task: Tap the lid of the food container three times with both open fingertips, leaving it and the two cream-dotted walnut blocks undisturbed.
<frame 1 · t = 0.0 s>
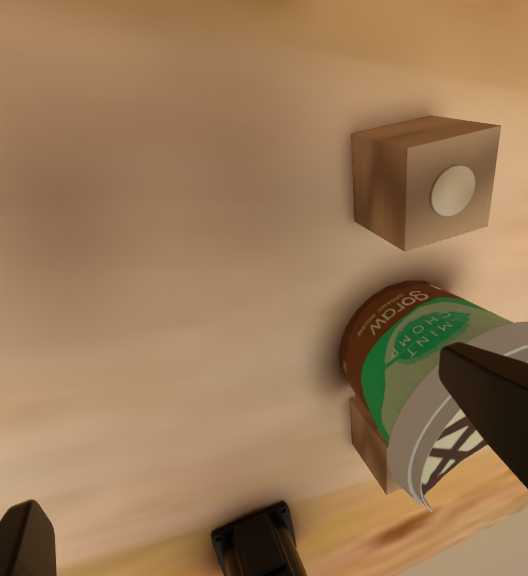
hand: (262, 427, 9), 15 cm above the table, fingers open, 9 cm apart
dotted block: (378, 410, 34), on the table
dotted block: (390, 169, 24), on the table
food container: (376, 316, 29), on the table
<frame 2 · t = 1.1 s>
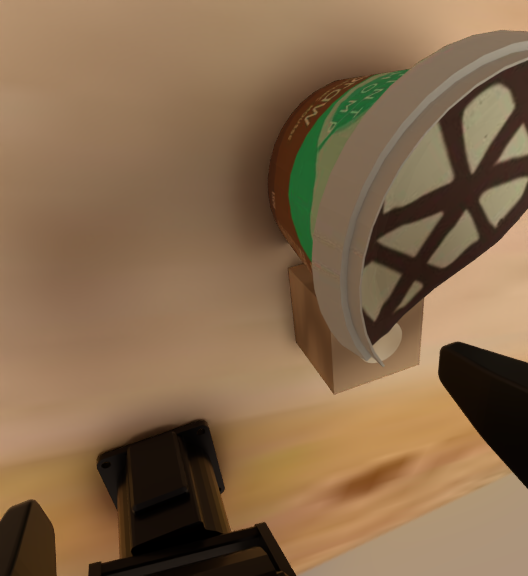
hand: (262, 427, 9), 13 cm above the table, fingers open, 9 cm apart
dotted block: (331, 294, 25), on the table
food container: (321, 134, 20), on the table
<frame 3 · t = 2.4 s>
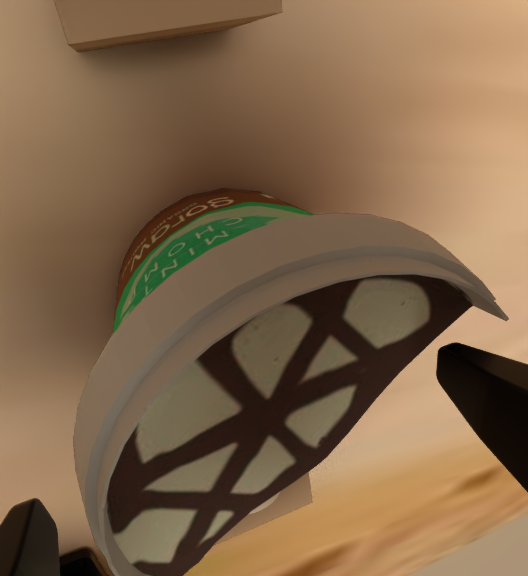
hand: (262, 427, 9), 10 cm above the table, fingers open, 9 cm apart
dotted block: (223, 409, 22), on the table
food container: (181, 252, 17), on the table, touching gripper
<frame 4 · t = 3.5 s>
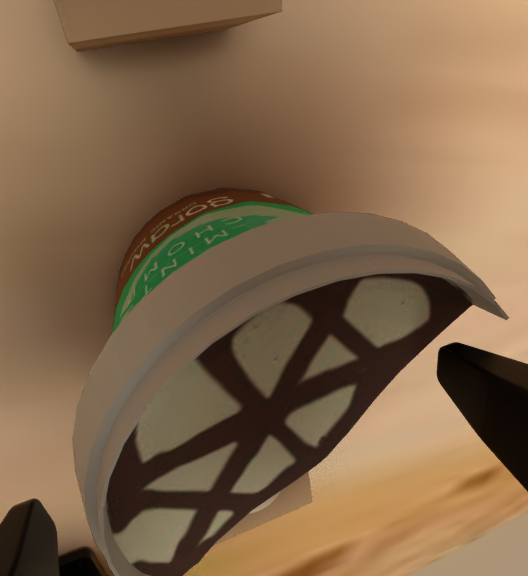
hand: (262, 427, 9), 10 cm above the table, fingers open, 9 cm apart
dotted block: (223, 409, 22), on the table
food container: (180, 252, 17), on the table, touching gripper
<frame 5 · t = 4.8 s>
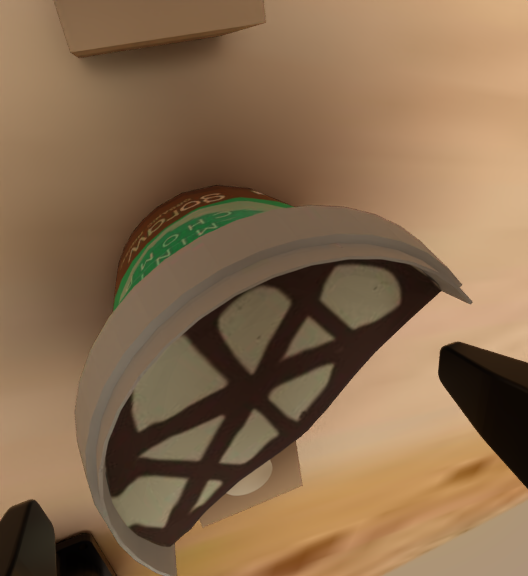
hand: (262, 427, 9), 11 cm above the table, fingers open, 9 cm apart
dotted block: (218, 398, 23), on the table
food container: (176, 246, 18), on the table
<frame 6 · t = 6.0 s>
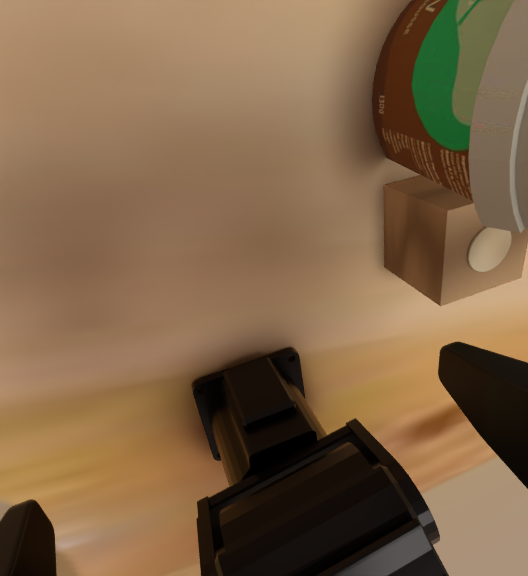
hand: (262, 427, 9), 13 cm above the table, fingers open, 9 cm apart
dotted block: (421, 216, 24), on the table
food container: (426, 38, 20), on the table
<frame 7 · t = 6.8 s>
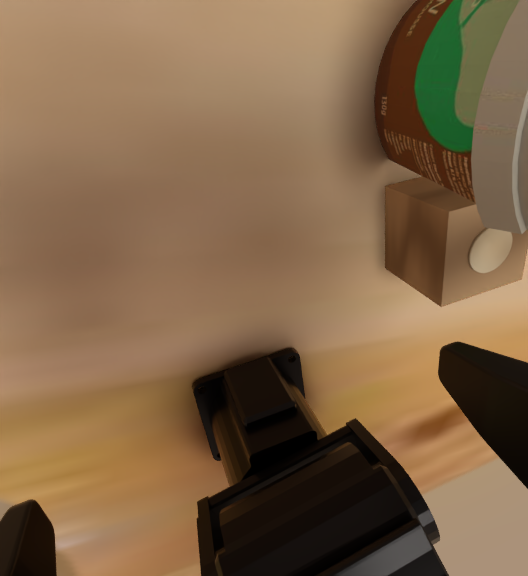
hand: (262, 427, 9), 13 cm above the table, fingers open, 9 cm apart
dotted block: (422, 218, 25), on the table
food container: (428, 40, 20), on the table
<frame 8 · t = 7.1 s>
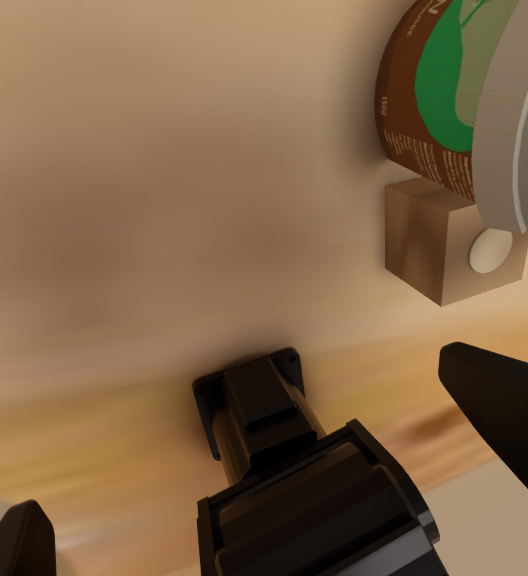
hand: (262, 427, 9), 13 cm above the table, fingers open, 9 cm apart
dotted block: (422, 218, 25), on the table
food container: (428, 40, 20), on the table
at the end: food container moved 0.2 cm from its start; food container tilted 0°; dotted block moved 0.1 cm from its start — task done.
